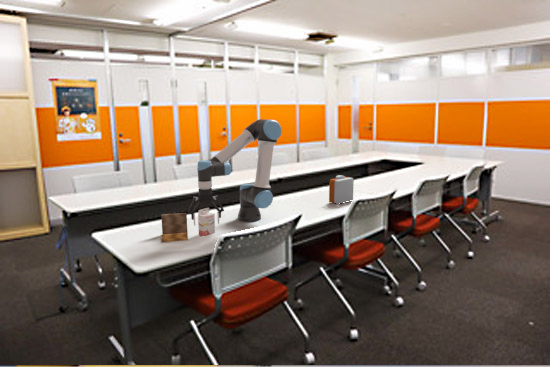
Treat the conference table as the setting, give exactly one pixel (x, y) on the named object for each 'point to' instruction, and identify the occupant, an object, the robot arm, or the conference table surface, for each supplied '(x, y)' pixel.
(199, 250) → the conference table surface
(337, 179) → the grey and orange case
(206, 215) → the ink cartridge box
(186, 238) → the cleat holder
